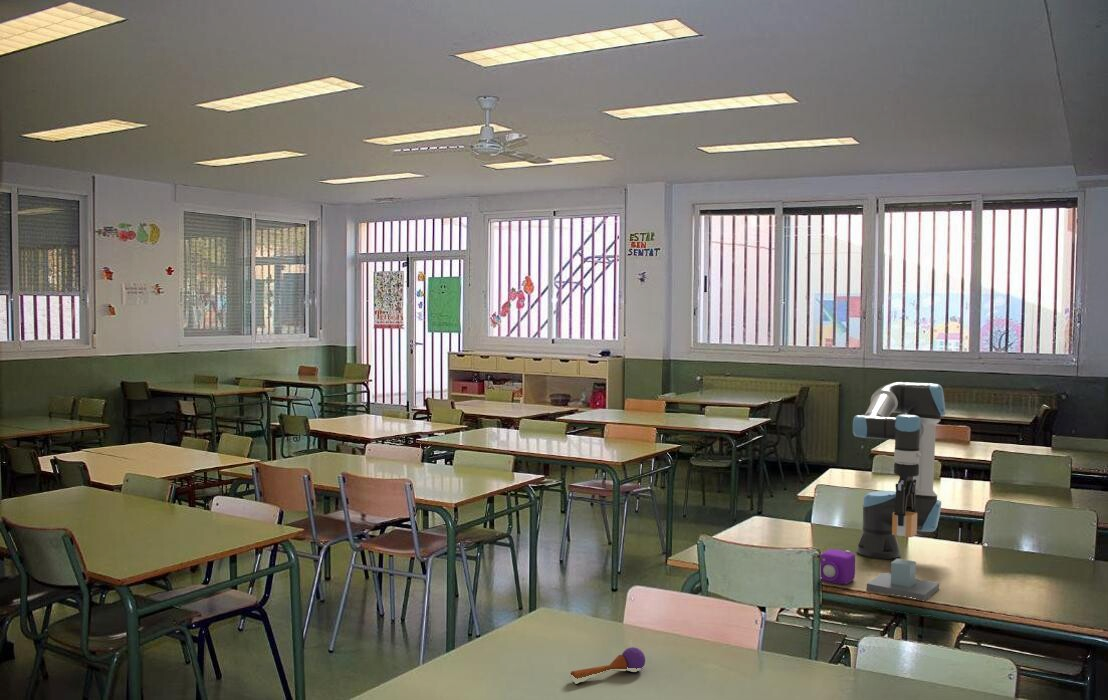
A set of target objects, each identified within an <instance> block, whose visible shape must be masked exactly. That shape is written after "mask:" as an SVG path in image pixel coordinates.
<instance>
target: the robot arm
mask: <svg viewBox="0 0 1108 700" xmlns="http://www.w3.org/2000/svg"><path fill="white" fill-rule="evenodd" d="M869 401H870V404H869V406H868V408H867V410H866V412H865V413H864V414H861V415H859V414H857V415H855V416H854V417H853V420H852V434H853V435H854V437H855V438H856V437H857V438H862V439H875V440H876V439H880V440H891V441H894V455H893V460H894V461H895V462H894V464H893V473H894V475H896V476H899V480H898V481H897V483H895V491H891V490H876V491H871V492H867V493H866V494H865V495H864V496H863V503H862V533H861V535H860V538H859V539H858V540H859V541H858V542H857V545H856V552H857V553H858V554H859V555H861V556H865V557H868V558H872V557H873V558H874V559H880V558H883V560H892V558H893V559H898V558H900V556H901V549H900V546H899V542H898V539H897V536H898V535H899V536H900V537H904V536H906V516H905V515H906V514H905V513H906V511H908V512H915V513H917V532H921V533H922V532H929V533H932V532H934V531H936V530H937V528H938V525H939V524H938V523H939V520H940V515H941V509H942V501H941V500H940V499H939V500H938V494H937V493H936V492H935V491H934V478H935V477H934V476H935V474H934V473H935V454H936V453H935V450H936V449H935V448H936V427H937V424H939V422H941V419H942V418H941V417H945V415H946V404H945V403H946V402H945V394H944V389H943V387H942V385H940V384H939V383H930V382H904V381H895V382H890V383H888V384H885V385H883V386H881V387H879V388H878V389H876V390H875V391H874V393H873V394H872V395H871V398H870V400H869ZM892 413H894V414H896V413H897V414H898V415H896V416H895V417H894V416H893V417H891V414H892ZM894 512H895V513H894ZM893 513H894V515H897V535H892V515H893ZM899 536H898V537H899ZM897 557H898V558H897ZM873 558H872V559H873Z"/></svg>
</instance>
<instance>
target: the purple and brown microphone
mask: <svg viewBox="0 0 1108 700" xmlns="http://www.w3.org/2000/svg"><path fill="white" fill-rule="evenodd" d="M645 664H646V655H645V654H644V652H643V651H642V649H640V648H638V647H634V646H633V647H628V648H626V649H625V650H624V651H623V652H622V654H618V655H617V656H616V657H615V658H614V660H613V661H612V662H610V663H609V664H607V665H601V666H595V667H590V668H589V667H588V668H583V669H578V670H572V671H571V672H570V674H571V675H573V676H574V677H575V678H577V679H578V678H582V677H586V676H589V675H592V674H597V673H600V672H603V671H606V670H609V671H610V669H627V667H628V668H636V669H637V668H642V667H643V666H644V667H645ZM644 667H643V668H644ZM643 668H642V669H643ZM606 672H607V671H606Z"/></svg>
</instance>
